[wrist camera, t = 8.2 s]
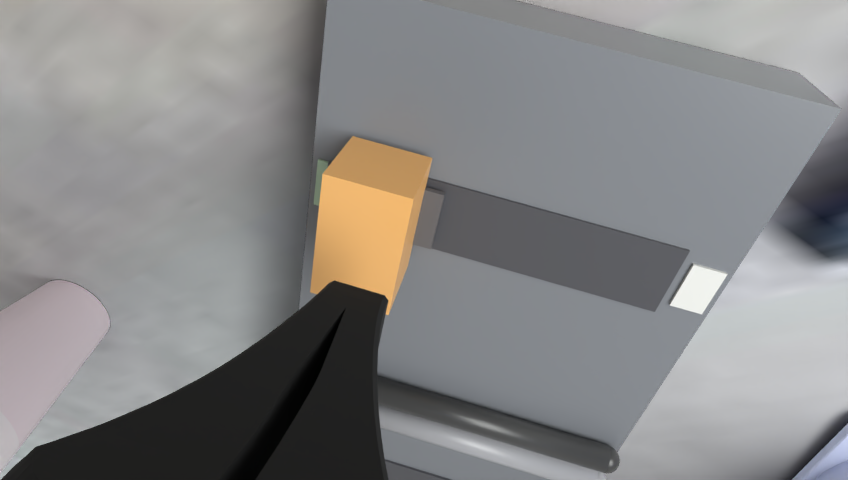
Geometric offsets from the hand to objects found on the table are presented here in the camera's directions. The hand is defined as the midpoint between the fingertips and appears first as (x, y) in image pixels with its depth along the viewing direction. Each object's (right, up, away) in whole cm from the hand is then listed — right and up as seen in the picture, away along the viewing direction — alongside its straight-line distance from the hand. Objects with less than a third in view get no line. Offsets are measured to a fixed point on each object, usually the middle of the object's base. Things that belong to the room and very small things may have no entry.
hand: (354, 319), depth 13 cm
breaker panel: (+4, -1, +10) cm, 11 cm away
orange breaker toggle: (0, +3, +4) cm, 5 cm away
